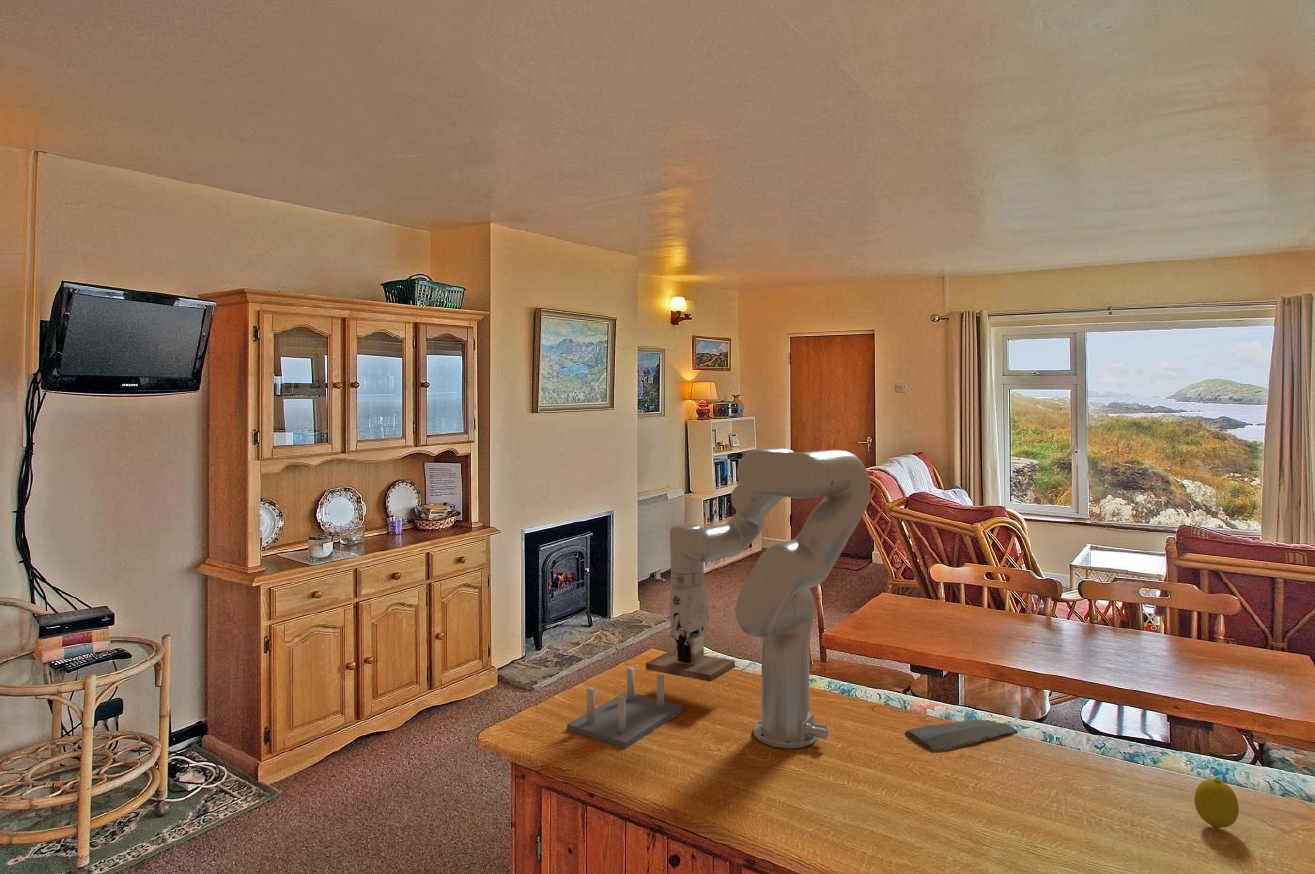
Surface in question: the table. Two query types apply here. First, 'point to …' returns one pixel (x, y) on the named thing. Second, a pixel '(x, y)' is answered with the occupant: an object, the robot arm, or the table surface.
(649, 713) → the peg stand
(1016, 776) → the table surface
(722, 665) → the shelf board
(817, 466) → the robot arm
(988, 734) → the stone slab
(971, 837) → the table surface
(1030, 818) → the table surface
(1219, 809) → the lemon
